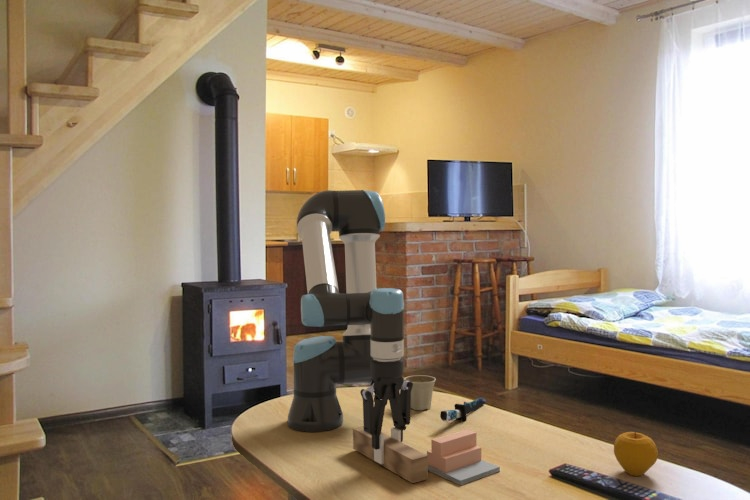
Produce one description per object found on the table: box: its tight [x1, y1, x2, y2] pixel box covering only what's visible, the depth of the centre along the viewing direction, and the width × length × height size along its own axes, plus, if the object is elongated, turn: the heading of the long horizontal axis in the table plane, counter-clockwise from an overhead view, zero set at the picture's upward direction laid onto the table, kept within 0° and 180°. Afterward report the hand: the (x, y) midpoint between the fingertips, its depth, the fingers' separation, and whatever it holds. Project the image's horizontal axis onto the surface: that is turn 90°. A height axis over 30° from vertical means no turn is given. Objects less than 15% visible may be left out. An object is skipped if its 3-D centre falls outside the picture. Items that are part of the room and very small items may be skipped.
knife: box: [439, 397, 487, 423], centre depth 177 cm, size 31×3×4 cm, turn 145°
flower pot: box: [403, 374, 437, 411], centre depth 186 cm, size 9×9×9 cm
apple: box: [613, 431, 659, 477], centre depth 136 cm, size 9×9×9 cm
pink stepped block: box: [424, 429, 501, 486], centre depth 141 cm, size 16×12×7 cm
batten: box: [352, 425, 429, 484], centre depth 142 cm, size 24×4×5 cm, turn 33°
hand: (387, 459), depth 143 cm, fingers closed on batten, 4 cm apart
